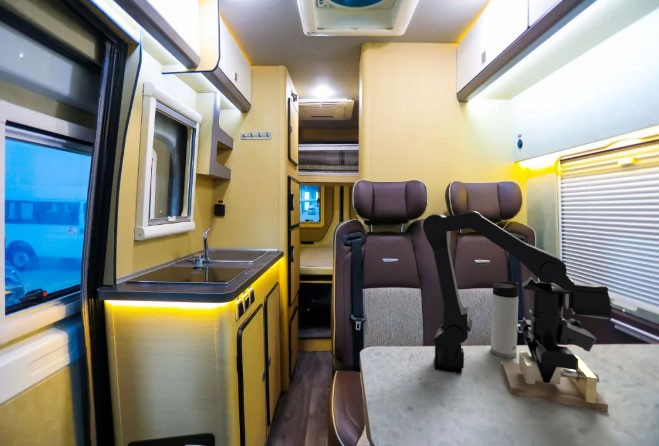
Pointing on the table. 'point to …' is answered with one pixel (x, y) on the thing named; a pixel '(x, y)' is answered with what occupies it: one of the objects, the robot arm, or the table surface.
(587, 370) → the gold slab
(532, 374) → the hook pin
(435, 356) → the robot arm
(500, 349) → the travel mug
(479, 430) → the table surface
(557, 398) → the copper board
